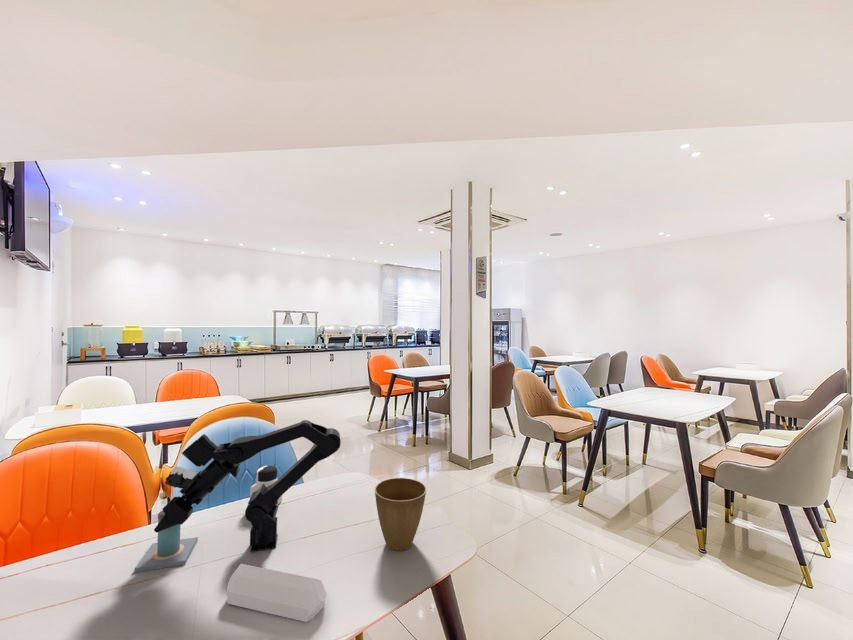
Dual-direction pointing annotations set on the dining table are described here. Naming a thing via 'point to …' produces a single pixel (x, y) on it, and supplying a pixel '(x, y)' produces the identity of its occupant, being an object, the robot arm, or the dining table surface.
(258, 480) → the container
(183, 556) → the card
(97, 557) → the dining table surface
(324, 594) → the white hexagonal prism
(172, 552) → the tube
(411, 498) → the plant pot
